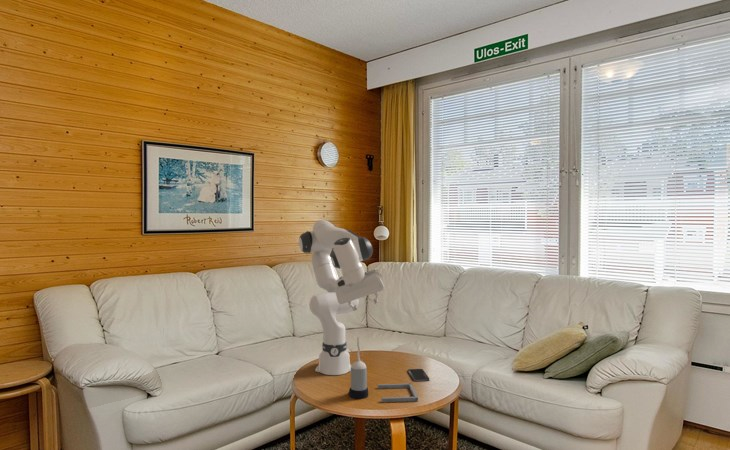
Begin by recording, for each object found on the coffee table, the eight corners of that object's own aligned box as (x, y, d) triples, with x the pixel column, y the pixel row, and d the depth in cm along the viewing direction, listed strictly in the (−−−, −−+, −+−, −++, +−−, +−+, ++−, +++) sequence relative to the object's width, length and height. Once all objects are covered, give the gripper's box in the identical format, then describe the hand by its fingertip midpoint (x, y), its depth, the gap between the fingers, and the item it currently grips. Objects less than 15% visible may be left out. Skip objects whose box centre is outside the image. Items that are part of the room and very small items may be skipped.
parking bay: (377, 387, 202) (377, 384, 202) (411, 386, 204) (411, 383, 204) (381, 402, 187) (381, 398, 187) (417, 401, 188) (417, 397, 188)
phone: (413, 380, 210) (407, 369, 225) (413, 382, 210) (407, 371, 225) (430, 379, 211) (422, 368, 226) (430, 381, 211) (422, 370, 226)
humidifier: (346, 393, 196) (346, 335, 196) (364, 390, 199) (365, 333, 199) (352, 400, 189) (352, 340, 188) (370, 397, 191) (370, 338, 191)
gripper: (378, 266, 191) (389, 296, 192) (332, 282, 192) (343, 312, 194) (378, 269, 185) (389, 300, 186) (331, 285, 186) (342, 316, 187)
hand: (365, 306), depth 190 cm, fingers open, 8 cm apart
